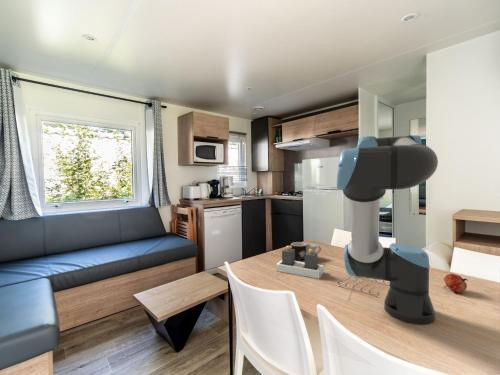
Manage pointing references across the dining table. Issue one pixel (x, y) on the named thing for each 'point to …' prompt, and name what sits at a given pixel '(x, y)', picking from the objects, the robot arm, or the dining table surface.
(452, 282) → the red fruit with stem
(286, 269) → the strip
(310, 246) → the teacup
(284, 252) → the plug
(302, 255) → the coffee mug
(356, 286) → the dining table surface
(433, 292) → the dining table surface
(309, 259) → the twin plug
